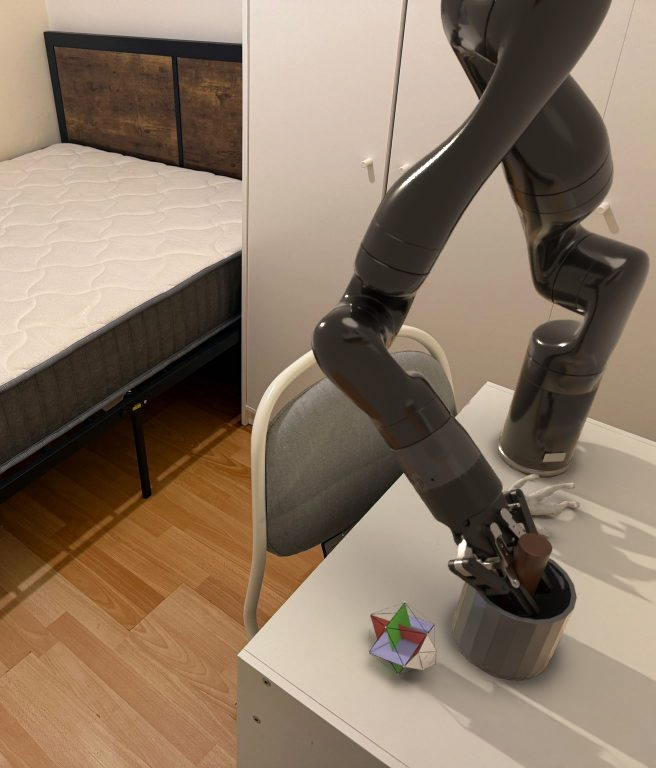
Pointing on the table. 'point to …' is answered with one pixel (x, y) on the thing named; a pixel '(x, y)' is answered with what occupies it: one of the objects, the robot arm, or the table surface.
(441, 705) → the table surface
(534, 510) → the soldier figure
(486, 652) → the tin
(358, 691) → the table surface
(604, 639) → the table surface
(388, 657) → the geometric puzzle
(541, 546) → the cylinder
